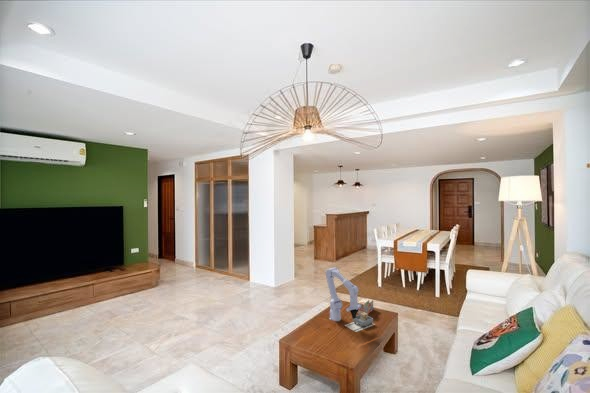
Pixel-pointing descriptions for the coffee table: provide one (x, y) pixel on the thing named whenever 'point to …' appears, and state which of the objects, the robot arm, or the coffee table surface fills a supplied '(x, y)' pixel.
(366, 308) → the multicoloured piece
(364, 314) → the maple block
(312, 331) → the coffee table surface
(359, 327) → the track board
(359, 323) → the grey storage bin
